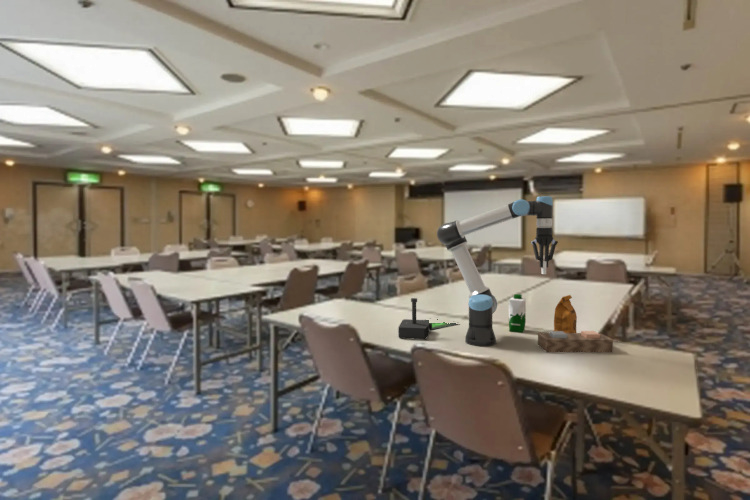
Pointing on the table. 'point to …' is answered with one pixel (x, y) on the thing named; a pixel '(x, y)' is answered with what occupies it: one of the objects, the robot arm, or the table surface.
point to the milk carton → (517, 313)
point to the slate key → (558, 334)
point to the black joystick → (414, 326)
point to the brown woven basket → (575, 343)
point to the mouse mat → (442, 325)
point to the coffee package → (565, 316)
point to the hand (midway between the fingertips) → (543, 273)
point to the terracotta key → (590, 334)
